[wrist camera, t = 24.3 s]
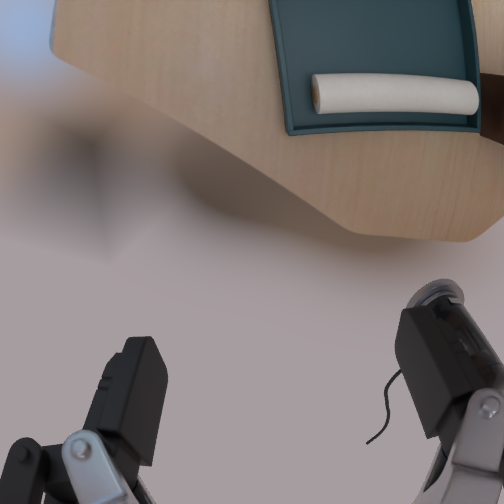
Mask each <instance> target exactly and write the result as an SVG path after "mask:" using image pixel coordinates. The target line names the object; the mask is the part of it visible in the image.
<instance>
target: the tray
mask: <svg viewBox="0 0 504 504" xmlns="http://www.w3.org/2000/svg"><path fill="white" fill-rule="evenodd" d="M268 1H269V8H270V14H271V21H272V27H273V34H274V41H275V48H276V55H277V63H278V70H279V78H280V86H281V94H282V102H283V111H284V119H285V128H286V132H287V134H288V135H289V136H295V135H307V134H320V133H335V132H354V131H385V130H427V131H458V132H475V133H480V130H481V129H480V128H481V89H480V69H479V56H478V46H477V37H476V29H475V22H474V16H473V10H472V4H471V0H268ZM333 73H382V74H405V75H419V76H431V77H441V78H449V79H457V80H465V81H470V82H471V83H473V84H474V86H475V87H476V89H477V92H478V96H479V105H478V109H477V111H476V112H475V113H474V114H473V115H463V114H449V113H429V112H350V113H330V114H317V113H316V111H315V108H314V104H313V99H312V91H311V79H312V75H313V74H333Z"/></svg>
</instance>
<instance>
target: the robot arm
mask: <svg viewBox="0 0 504 504" xmlns="http://www.w3.org/2000/svg"><path fill="white" fill-rule="evenodd" d="M463 304H464V303H463V302H462V300H461V299H460V298H459V297H458V296H457V295H456V294H455V293H454V292H452V291H441V292H438V293H436V294H434V295H432V296H431V297H429V298H428V299H427V300H425V301H424V302H423V303H422V305H421V306H416V307H411V308H406V309H403V310H402V312H401V317H400V322H399V326H398V331H397V336H396V340H395V354H396V358H397V361H398V364H399V366H400V370H399V371H398V372H396V373H395V375H394V376H393V377H392V378H391V379H390V380H389V382H388V383H387V385H386V387H385V390H384V396H385V405H386V410H387V419H386V423H385V425H384V427H383V428H382V430H381V431H380V432H379V433H378V434H376V435H375V436H374V437H373V438H372V439H370V440H369V441H367V442H366V444H369V443H370V442H372V441H373V440H374V439H376V438H377V437H378V436H379V435H380V434H381V433H382V432H383V431H384V430H385V428H386V427H387V425H388V423H389V419H390V409H389V401H388V394H387V393H388V388H389V386H390V385H391V383H392V382H393V381H394V380H395V378H396V377H397V376H398V375H399V374H400V373H401V372H402V374H403V376H404V379H405V381H406V383H407V386H408V388H409V391H410V393H411V396H412V399H413V402H414V404H415V407H416V410H417V412H418V415H419V418H420V421H421V423H422V426H423V429H424V432H425V435H426V438H427V439H429V438H432V437H436V436H439V439H440V441H441V443H440V444H439V446H438V449H437V452H436V454H435V457H434V460H433V462H432V465H431V467H430V469H429V472H428V474H427V476H426V479H425V481H424V483H423V486H422V488H421V490H420V492H419V494H418V496H417V498H416V499H415V501H414V502H413V503H412V504H497V503H498V500H499V496H500V493H501V490H502V485H503V487H504V365H503V364H502V362H501V361H500V359H499V357H498V356H497V354H496V352H495V351H494V349H493V348H492V346H491V345H490V344H489V342H488V340H487V339H486V337H485V336H484V334H483V333H482V331H481V330H480V328H479V327H478V325H477V324H476V322H475V321H474V319H473V318H472V317H471V315H470V314H469V312H468V311H467V309H466V308H465V307H464V305H463ZM167 383H168V374H167V368H166V365H165V363H164V361H163V359H162V357H161V355H160V353H159V350H158V348H157V346H156V344H155V342H154V339H153V338H152V337H151V336H146V337H129V338H128V339H127V340H126V343H125V345H124V348H123V351H122V353H116V354H115V355H114V356H113V357H112V358H111V359H110V361H109V362H108V363H107V364H106V367H105V369H104V372H103V374H102V379H101V380H100V382H99V385H98V390H96V393H95V396H94V398H93V401H92V404H91V407H90V409H89V412H88V415H87V418H86V421H85V424H84V426H83V429H82V430H79V431H76V432H74V433H72V434H71V435H70V436H69V437H68V438H67V439H66V440H65V442H64V443H63V444H57V445H50V446H40V445H39V444H38V443H37V442H36V441H35V440H33V439H32V438H28V437H26V438H21V439H19V440H17V441H16V442H15V443H14V444H13V445H12V446H11V448H10V451H9V453H8V456H7V459H6V463H5V466H4V469H3V472H2V475H1V479H0V504H41V499H42V495H43V492H45V493H46V495H45V500H44V504H156V502H155V501H154V499H153V498H152V496H151V495H150V493H149V491H148V490H147V488H146V487H145V485H144V483H143V481H142V480H141V478H140V476H139V475H138V471H139V466H140V465H141V466H152V461H153V455H154V449H155V444H156V439H157V434H158V429H159V423H160V418H161V413H162V408H163V404H164V398H165V394H166V389H167Z"/></svg>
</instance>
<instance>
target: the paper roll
mask: <svg viewBox="0 0 504 504" xmlns="http://www.w3.org/2000/svg"><path fill="white" fill-rule="evenodd" d="M311 91H312V99H313V104H314V108H315V111H316V113H317V114H330V113H350V112H429V113H449V114H463V115H473V114H474V113H475V112H476V111H477V109H478V105H479V96H478V92H477V89H476V87H475V86H474V84H473V83H471V82H470V81H465V80H457V79H449V78H441V77H431V76H419V75H405V74H382V73H333V74H313V75H312V79H311Z"/></svg>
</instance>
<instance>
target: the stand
mask: <svg viewBox="0 0 504 504" xmlns="http://www.w3.org/2000/svg"><path fill="white" fill-rule="evenodd" d="M480 89H481V130H480V135H481V136H483V137H486V138H488V139H491V140H493V141H496V142H498V143H501V144H503V145H504V76H501V75H493V74H485V73H480Z"/></svg>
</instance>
